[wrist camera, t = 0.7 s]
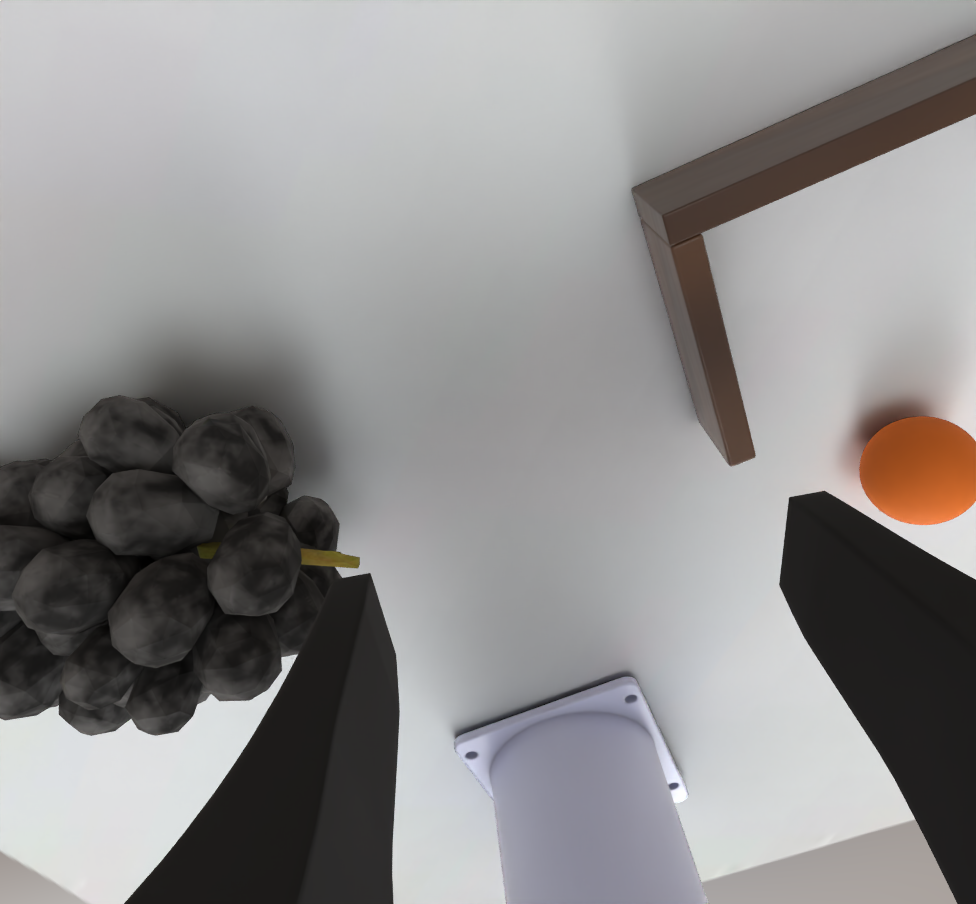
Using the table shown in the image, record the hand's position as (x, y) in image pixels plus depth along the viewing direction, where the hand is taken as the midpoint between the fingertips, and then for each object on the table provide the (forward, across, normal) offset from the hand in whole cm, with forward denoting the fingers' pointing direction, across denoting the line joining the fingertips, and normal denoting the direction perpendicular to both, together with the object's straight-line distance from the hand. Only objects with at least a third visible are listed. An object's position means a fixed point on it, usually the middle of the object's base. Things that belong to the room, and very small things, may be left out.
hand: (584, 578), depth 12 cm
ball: (+8, -12, +6) cm, 16 cm away
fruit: (+10, +12, +2) cm, 16 cm away
